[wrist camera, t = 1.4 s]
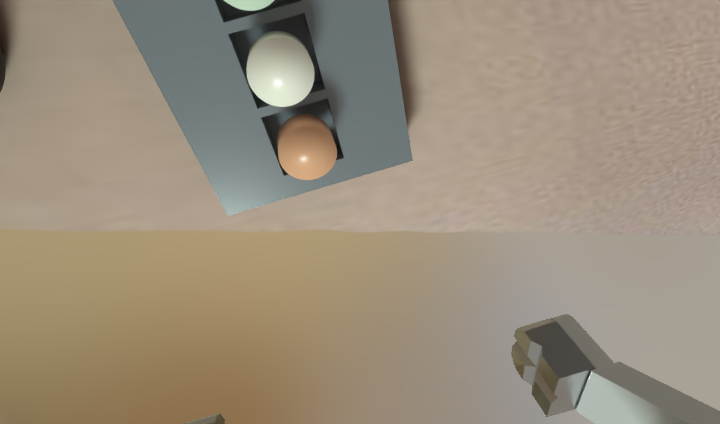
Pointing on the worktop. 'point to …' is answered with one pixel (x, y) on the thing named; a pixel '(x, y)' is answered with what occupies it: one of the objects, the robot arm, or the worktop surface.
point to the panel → (259, 119)
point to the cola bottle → (2, 69)
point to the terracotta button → (306, 147)
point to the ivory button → (280, 69)
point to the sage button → (249, 4)
